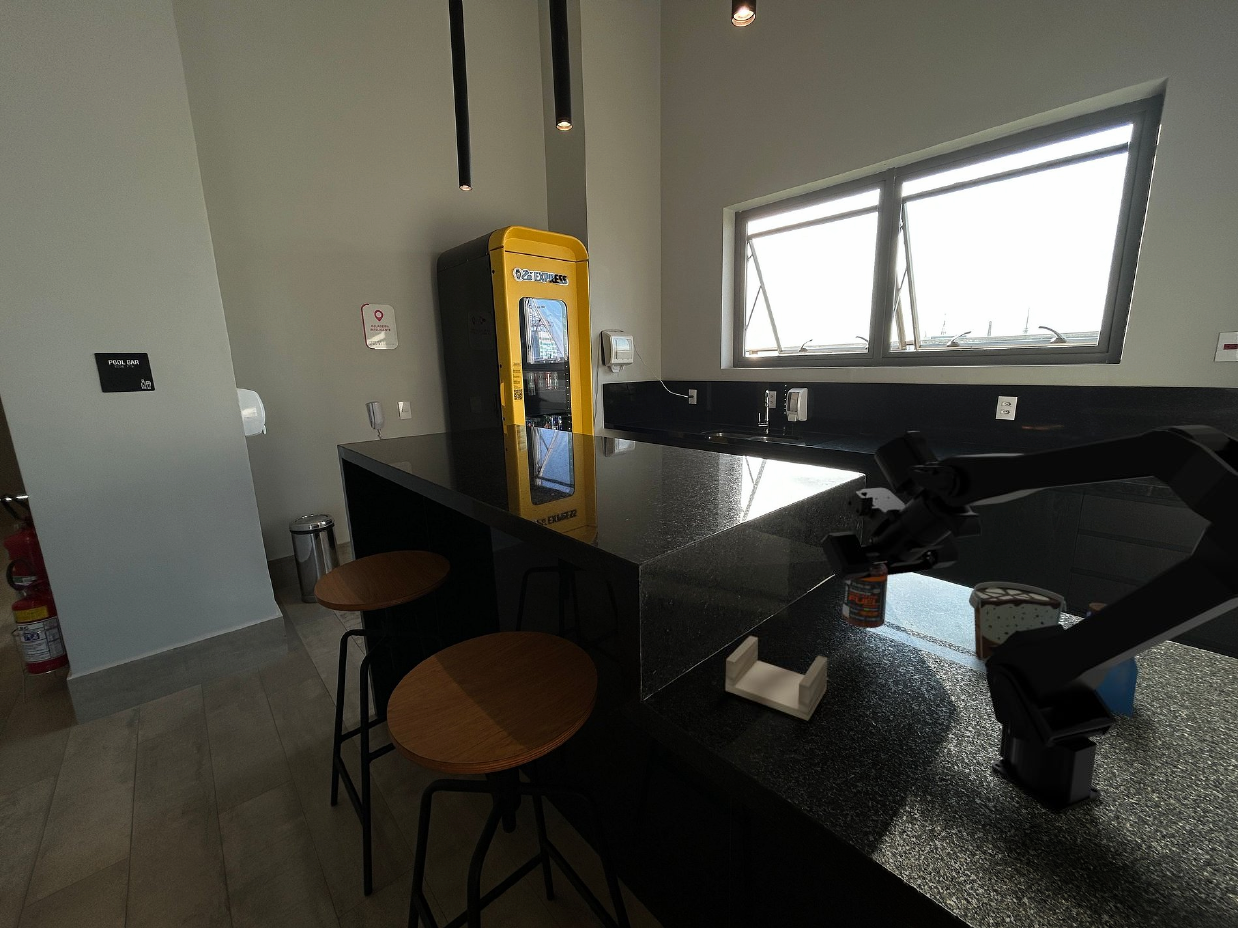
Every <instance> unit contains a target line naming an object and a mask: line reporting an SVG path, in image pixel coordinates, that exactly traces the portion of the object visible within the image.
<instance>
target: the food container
mask: <svg viewBox="0 0 1238 928" xmlns="http://www.w3.org/2000/svg"><path fill="white" fill-rule="evenodd" d="M968 603H969V605H970V606H971V607H972V608H973V611H974V612H973V615H974V616H973V617H974V644H975V647H974V648H975V650H974V651H975V654H976V657H977V658H978V660H980V661H986V659H987V658H988V657H989V656H990V655H991V654H993V652H992V651H990V650H989V647H990V646H996V645H1000V644H1002V643H1003V642H1004V641H1005V640H1006V639H1007V638H1008V637H1009V636H1010V635H1011V634H1013V633H1014V632H1016V631H1019V630H1025V629H1031V628H1037V627H1043V626H1049V625H1055V624H1060V619H1061V615H1062V611H1064V612H1067V611H1068V610H1067V603H1066V601H1065V597H1064V596H1062V595H1060V594H1057V593H1055V592H1052V591H1050V590H1047V589H1044V588H1041V587H1036V586H1032V585H1029V584H1028V585H1027V584H1024V583H1022V584H1021V583H1015V582H1008V581H1007V582H1006V581H987V582H981V583H977V584H976V585H975V586H974V588H973V589H972V590H971V593H970V595H969V598H968Z"/></svg>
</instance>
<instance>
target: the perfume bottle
mask: <svg viewBox="0 0 1238 928" xmlns="http://www.w3.org/2000/svg"><path fill="white" fill-rule="evenodd" d="M1106 605H1108V603H1107V604H1106V603H1102V602H1100V603H1099V602H1092V603H1089V611H1088V612H1087V613H1086V617H1088V616H1089V615H1091V614H1093V613H1094V612H1096V611H1098V610H1099V609H1101V608H1103V607H1104V606H1106ZM1138 674H1139V668H1138V665H1137V661H1136V658H1135V656H1134V657H1132V658H1130V659H1128V660H1126V661H1123V662H1121V663H1119V664H1117V665H1115V666H1113V667H1112V668H1111V669H1110V670H1109V671H1108V673H1107V675H1106V677H1105V679H1104V681H1103V683H1102V684H1101V685H1099V686H1098V687H1097V688H1096V691H1097V692H1098V694H1099V695H1100V696H1101V698H1102V699H1103V701H1104V702H1105V704H1106V705H1107V707H1108V708H1109V709H1110V711H1111V712H1112V713H1113V712H1114V713H1117V714H1120V713H1121V715H1124V716H1128V717H1132V716H1133V709H1134V701H1135V696H1136V695H1135V694H1136V689H1137V683H1138V682H1137V680H1138Z"/></svg>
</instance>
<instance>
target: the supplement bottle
mask: <svg viewBox="0 0 1238 928" xmlns="http://www.w3.org/2000/svg"><path fill="white" fill-rule="evenodd" d="M869 573H870V574H871V576H872V577H871V578H864V579H857V580H849V581H842V583H843V584H842V585H843V586H842V600H841V601H842V603H841V617H842V619H843V620H844V621H846V622H847V624H850V625H852V626H855V627H858V628H861V629H862V628H863V629H877V628H880V627H882V626H883V625H884V624H885V621H886V620H885V618H886V608H887V607H886V606H887V592H888V578H889V577H888V576H889V575H888V569H887V567H886V566H885V565H884V564H883V563H875V564H874V566H873V568H871V569H870V572H869Z"/></svg>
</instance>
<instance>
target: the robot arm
mask: <svg viewBox="0 0 1238 928" xmlns="http://www.w3.org/2000/svg"><path fill="white" fill-rule="evenodd" d="M873 458H874V459H875V460H876V462H877V464H878V466H879V467H880V469H881V471H882V473H883V474H884V475H885V477H886V480H887V481H888V483H889V485H890V486H891V488H892V489H893V492H895V493H896V494H906V496H908V497H913V498H912V499H911V500H909V502H907V504H905V503H904V502H903V501H902V500H901V499H899V498H898V496H896V495H895V494H894V493H893V492H892V491H890V490H889V489H887V488H884V487H875V488H874V487H873V488H863V489H860V490H858V491H857V490H856V491H854V493H853V494H852V495H850V496H849V498H848V500H847V503H846V507H847V509H848V510H849V511H850V513H852V514H853V515H854V516H855V518H860V517H861V518H863V519H864V520H865V521H866V522H867V523H868V525H867V526H866V528H865V529H866V531H867V533H868V535H869V536H873V538H871V539H869V542H870V544H871V545H862V543H861V542H860V540H859V539H858V536H857V534H856V533H854V532H852V531H842V532H841V531H840V532H832V533H831V532H830V533H829V532H828V533H827V534H826V535H825V536H824V537H823V538H822V540H821V542H820V546H821V549H822V550H823V552H824V553H823V554H824V556H825V557H826V559H827V562H828V564H829V565H830V566H829V567H830V568H831V570H832V571H833V575H834V577H835V578H836V579H838V580H840V582H843V581H849V580H857V579H864V578H871V577H872V576H871V574H870V573H869V572H870V569H871V568H873V566H874V564H875V563H883V564H884V565H885V566H886V567H887V569H888V576H893V575H902V574H907V573H908V574H909V573H916V572H925V571H930V570H932V568H933V569H940V568H947V567H948V568H949V567H950V566H952V565H953V564H955V563H957V561H958V557H959V556H958V555H959V550H957V547H956V546H955V545H954V543H953V541H951V539H950V537H949V536H948V535H950V533H951V534H952V536H953V538H956V539H957V538H968V537H976V536H978V537H979V536H981V535H982V534H983V529H982V524H981V522H980V521H981V520H980V518H981V515H980V514H979V513H975V512H973V511H972V509H971V507H973V506H981V505H982V506H983V505H992V504H1000V503H1005V502H1008V501H1012V500H1016V499H1019V498H1023V497H1026V496H1029V495H1030V494H1033V493H1035V492H1039V491H1042V490H1045V489H1050V488H1057V487H1069V486H1079V485H1088V484H1098V483H1106V482H1108V483H1109V482H1118V481H1127V480H1135V479H1145V478H1156V479H1157V480H1159V481H1161V482H1163V483H1164V484H1165V485H1167V486H1168V488H1169V489H1171V491H1173V492H1174V494H1175V495H1176V496H1177V497H1178V498H1179V499H1180V501H1182V502H1183V503H1184V505H1186V506H1187V507H1188V508H1189V509H1190V510H1191V511H1192V512H1194V514H1197V515H1198V516H1200V517H1202V518H1203V519H1205V520H1207V521H1208V522H1210V523H1209V524H1208V526H1206V527H1205V528H1204V530H1203V531H1202V534H1201V535H1200V537H1199V538H1198V540H1197V542H1196V544H1195V546H1194V548H1193V549H1192V551H1191V553H1189V554H1188V555H1187V556H1186V557H1185V558H1184V559H1182V560H1180V561H1178V562H1177V563H1175V564H1174V565H1171V566H1170V567H1169V568H1166V569H1165V570H1164V571H1162V572H1160V573H1158V574H1157V575H1154V576H1153V577H1152V578H1150V579H1148V580H1146V581H1145V582H1143V583H1141V584H1140V585H1138V586H1136V587H1135V588H1133V589H1132V590H1130V591H1128V592H1126V593H1124V594H1122V596H1120V597H1118V598H1116V599H1114V600H1113V601H1112V602H1109V603H1107V605H1106V606H1104V607H1103V608H1101V609H1099V610H1098V611H1096V612H1094V613H1093V614H1091V615H1089V616H1088V617H1087V616H1085V617H1084V618H1082V619H1081V620H1079V621H1077V622H1076V623H1074V624H1072V625H1071V626H1069V627H1067V628H1066V629H1065V628H1064V625H1063V624H1062V623H1059V624H1055V625H1049V626H1043V627H1037V628H1031V629H1025V630H1019V631H1016V632H1014V633H1013V634H1011V635H1010V636H1009V637H1008V638H1007V639H1006V640H1005V641H1004V642H1003V643H1002V644H1000V645H996V646H990V647H989V650H990V651H992V652H993V654H991V655H990V656H989V657H988V658H987V659H986V660H984V668H985V673H986V674H985V677H986V683H987V687H988V692H989V697H990V700H991V705H992V709H993V713H994V718H995V720H996V722H997V723H999V724H1000V725H1001V735H1000V742H999V743H1000V746H999V757H1001V759H999V760H996V761H994V762H992V763H991V769H992V770H993V771H994V772H996V774H997V773H998V774H999V775H1000V776H1002V777H1003V778H1005V780H1007V781H1009V782H1010V783H1012V784H1013V785H1014V786H1016V787H1018V788H1019V789H1020V790H1021V791H1023V792H1024V793H1026V794H1027V795H1029V796H1030V797H1031V798H1033V799H1034V800H1036V801H1037V802H1039V803H1040V804H1041V805H1043V807H1046V808H1047V809H1049V810H1050V811H1051V812H1054V813H1056V814H1063V813H1066V812H1068V811H1071V810H1073V809H1075V808H1079V807H1080V806H1084V805H1086V804H1089V803H1091V802H1094V801H1096V800H1099V799H1100V798H1101V796H1102V792H1101V791H1100V790H1099V789H1098V788H1096V787H1095V786H1094V785H1093V784H1092V783H1093V776H1094V769H1095V761H1096V753H1097V747H1098V744H1097V742H1096V741H1094V740H1092V739H1090V738H1092V737H1093V738H1094V737H1097V736H1100V735H1101V736H1107V735H1109V734H1110V733H1111V731H1112V730H1113V729H1114V728H1115V726H1116V725H1117V724H1118V721H1117V718H1116V717H1115V715H1114V714H1113V711H1110V709H1109V708H1108V707H1107V705H1106V704H1105V702H1104V701H1103V699H1102V698H1101V696H1100V695H1099V694H1098V692H1097V691H1096V688H1097V687H1098V686H1099V685H1101V684H1102V683H1103V681H1104V679H1105V677H1106V675H1107V673H1108V671H1109V670H1110V669H1111V668H1112V667H1113V666H1115V665H1117V664H1119V663H1121V662H1123V661H1126V660H1128V659H1130V658H1132V657H1134V658H1135V656H1138V655H1140V654H1142V653H1144V652H1146V651H1148V650H1150V649H1152V648H1154V647H1157V646H1158V645H1160V644H1162V643H1165V642H1167V641H1169V640H1171V639H1173V638H1176V637H1177V636H1179V635H1181V634H1184V633H1186V632H1188V631H1190V630H1192V629H1193V628H1196V627H1198V626H1200V625H1202V624H1204V623H1206V622H1208V621H1210V620H1212V619H1214V618H1217V617H1218V616H1222V615H1223V614H1225V613H1227V612H1229V611H1231V610H1234V609H1235V608H1237V607H1238V438H1236V437H1234V436H1232V435H1230V434H1228V433H1226V432H1224V431H1222V430H1219V429H1217V428H1216V427H1214V426H1209V425H1205V424H1191V425H1172V426H1158V427H1155V428H1152V429H1149V430H1148V431H1145V432H1142V433H1136V434H1132V435H1125V436H1119V437H1114V438H1109V439H1104V440H1103V439H1102V440H1098V441H1090V442H1085V443H1081V444H1075V445H1069V446H1068V445H1067V446H1062V447H1058V448H1056V447H1055V448H1051V449H1046V450H1045V449H1044V450H1041V451H1035V452H1029V453H984V454H981V453H980V454H968V455H967V454H965V455H955V456H953V455H951V456H946V457H944V458H942V459H940V460H939V459H938V457H937V456H936V454H935V453H934V452H933V450H932V449H931V447H930V446H929V444H928V443H927V440H926V438H925V436H924V434H923V433H922V432H921V431H919V430H914V431H913V430H912V431H906V432H905V433H904V434H903V435H902V436H900V437H897V438H894V439H892V440H889V441H888V442H886V443H885V444H884V445H880V446H878V448H877V449H876V450H875V452H874V456H873ZM970 506H971V507H970ZM930 554H931V556H932V557H933V559H934V560H933V561H931V562H930V561H929V558H931V556H930Z"/></svg>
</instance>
